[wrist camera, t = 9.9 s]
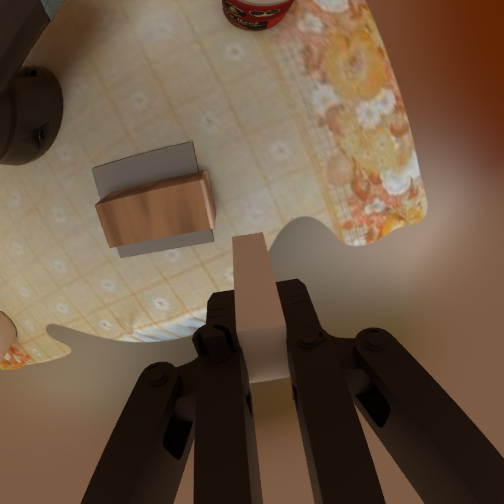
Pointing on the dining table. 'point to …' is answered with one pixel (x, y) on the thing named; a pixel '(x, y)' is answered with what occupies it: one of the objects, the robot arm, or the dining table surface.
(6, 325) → the alcohol
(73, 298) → the dining table surface
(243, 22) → the canned food
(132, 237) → the walnut block
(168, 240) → the mat
